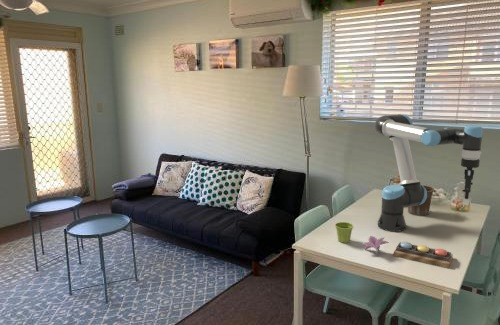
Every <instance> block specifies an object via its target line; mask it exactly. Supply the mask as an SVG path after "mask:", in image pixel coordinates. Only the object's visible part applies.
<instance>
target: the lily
mask: <svg viewBox="0 0 500 325" xmlns="http://www.w3.org/2000/svg"><path fill="white" fill-rule="evenodd" d="M384 239H385V237H381V238H377V237H375V236H373V235H370V236H369V237H368V242H363V243H362V245H364V246H365V247H364V250H368V249H371V248H374V249H375V251H376V255H377V257H379V253H378V251H379V250H380V247H381V245H385V244H389V243H390V242H389V241H387V240H384Z"/></svg>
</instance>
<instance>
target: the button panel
mask: <svg viewBox="0 0 500 325" xmlns="http://www.w3.org/2000/svg"><path fill="white" fill-rule="evenodd" d="M418 246H419V245H415V244H412V248H411V249H404V248H401V241H400V242H399V243H398V244H397V245H396V248H395V249H394V251H393V257H397V258H401V259H406V260H409V261H414V262H415V261H416V262H419V263H424V264H429V265H432V266H437V267H442V268H447V269H450V266H451V263H452V260H453V254H454V253H452V252H451V251H447V256H445V257H443V256H438V255H436V254H435V249H436V248H432V247H429V252H428V253H423V252H419V251H418V250H417V247H418Z"/></svg>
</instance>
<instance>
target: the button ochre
mask: <svg viewBox="0 0 500 325" xmlns="http://www.w3.org/2000/svg"><path fill="white" fill-rule="evenodd" d="M417 246H418V247H417V250H418V251H419V252H423V253H428V252H429V248H430V247H429V246H427V245H423V244H421V245H420V244H419V245H417Z"/></svg>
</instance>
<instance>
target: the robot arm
mask: <svg viewBox="0 0 500 325" xmlns="http://www.w3.org/2000/svg"><path fill="white" fill-rule="evenodd" d="M374 131H375V132H376V133H377V134H378V135H380V136H384V137H388V138H389V141H392V144H393V150H394V154H395V155H394V156H395V159H396V165H397V168H398V173H399V180H400V182H399V183H398V184H391V185H386V186H385V187H384V188H383V189H382V193H381V212H380V215H379V217H378V220H377V227H378V228H379V229H381V230H383V231H388V232H389V231H390V232H402V231H403V232H404V230H406V229H407V228H406V227H407V223H406V220H405V216H404V209H405V208H408V207H411V206H418V205H421V204H423V203H424V202H425V200H426V198H427V191H426V188H424V186H423V185H424V184H421V181H420V180H419V179H417V174H416V169H415V166H414V160H413V155H412V151H411V145H410V141H412V142H413V141H414V142H419V143H422V144H423V145H424V146H427V147H435V146H441V145H442V146H443V145H450V144H452V145H453V144H454V145H461V146H462V149H461V150H462V151H461V157H462V158H461V160H460V161H461V162H460V166H461V167H462V168H466V169H464V174H463V175H464V180H465V181H464V187H463V188H464V189H462V192H463V195H462V196H463V197H462V206H470V202H471V201H470V200H471V199H470V198H471V192H472V191H471V190H472V185H473V183H474V182H472V180H473V179H474V175H475V174H474V173H475V170H474V169H476V168H479V167H480V158H481V155H482V154H483V152H481V150H482V142H483V127H482V126H479V125H465V126H464V128H455V127H444V128H442V129H441V128H440V129H433V128H428V127H423V126H419V125H414V124H413V120H412V118H410V116H408V115H407V114H401V113H400V114H391V115H390V114H388V115H381V116H380V117H378V118H377V119H376V120H375V122H374ZM409 140H410V141H409Z"/></svg>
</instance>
